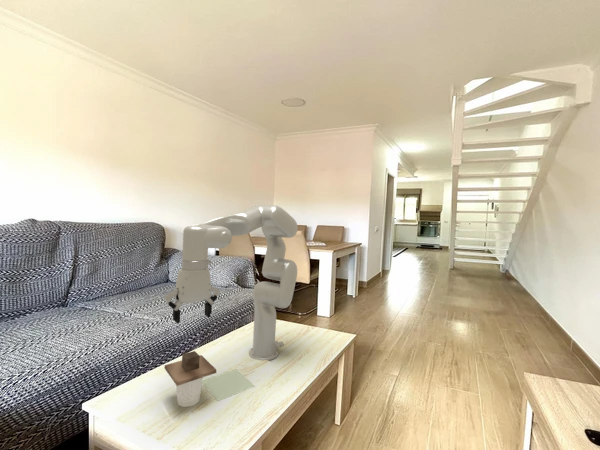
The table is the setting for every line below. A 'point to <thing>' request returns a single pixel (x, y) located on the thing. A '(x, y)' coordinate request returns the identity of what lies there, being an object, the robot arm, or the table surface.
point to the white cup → (189, 393)
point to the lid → (189, 368)
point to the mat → (227, 384)
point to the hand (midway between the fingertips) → (192, 318)
